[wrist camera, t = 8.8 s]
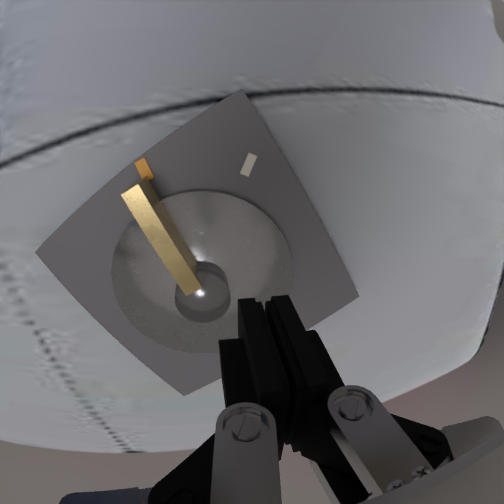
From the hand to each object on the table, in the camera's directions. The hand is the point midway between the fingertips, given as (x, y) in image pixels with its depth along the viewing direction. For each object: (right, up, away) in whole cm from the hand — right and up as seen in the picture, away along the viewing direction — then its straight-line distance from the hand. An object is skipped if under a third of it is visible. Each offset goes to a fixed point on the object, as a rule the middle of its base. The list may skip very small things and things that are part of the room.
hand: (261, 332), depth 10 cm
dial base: (-6, +1, +22) cm, 23 cm away
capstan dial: (-6, +1, +19) cm, 20 cm away
